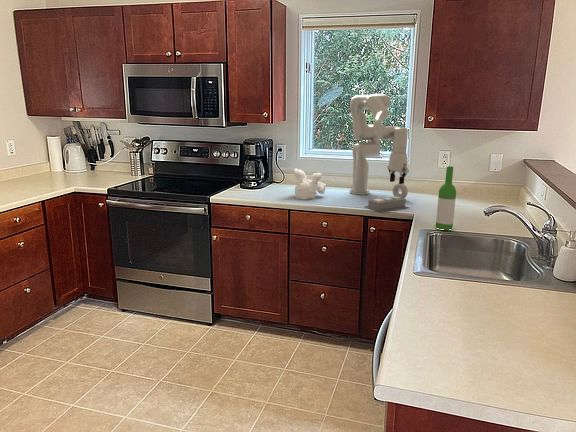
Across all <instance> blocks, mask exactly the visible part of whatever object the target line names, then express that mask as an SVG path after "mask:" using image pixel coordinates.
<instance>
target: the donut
mask: <svg viewBox="0 0 576 432" xmlns="http://www.w3.org/2000/svg"><path fill="white" fill-rule="evenodd" d="M399 189H400V190H401V193H400V192H399ZM408 193H409V191H408V188H407V186H406V185H405V183H404V184H399V182H398V183H396V184H395V185H393V187H392V194H393V196H398V197H401V198H404V199H406V198H407V196H408Z"/></svg>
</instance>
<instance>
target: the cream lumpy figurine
mask: <svg viewBox="0 0 576 432" xmlns="http://www.w3.org/2000/svg"><path fill="white" fill-rule="evenodd" d="M293 171H294V172H293V173H294V176H295V179H296V180H297V181H300V182H298V183H296V185H295V187H294V194H295V199H296V200H305V201H306V200H307V201H308V200H312V199H315V198H316V195H317V194H320V195H321V194H324V193H325V192H326V186H327V184H326V183H324V182H321V178H322V175H323V172H314V173H313V174H312V175H311V177H310V179H309V178H308V179H307V175H306V173H305V171H303V170H302V169H300V168H299V169H298V168H296V167H294V169H293ZM317 192H318V193H317Z"/></svg>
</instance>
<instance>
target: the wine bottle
mask: <svg viewBox="0 0 576 432" xmlns="http://www.w3.org/2000/svg"><path fill="white" fill-rule="evenodd" d="M445 171H446V173H445V179H444V180H445V181H444V184H442V185H441V186H440V188H439V189H438V199H437V205H436V206H437V208H436V217H435V229H436V228H439V229H444V230H449V229H453V227H454V225H453V224H454V217H455V207H456V198H457V197H456V196H457V188H456V187H455V186H454V184H453V177H454V176H453V175H454V166H452V165H451V166H450V165H449V166H446V170H445Z"/></svg>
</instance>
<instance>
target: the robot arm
mask: <svg viewBox="0 0 576 432" xmlns="http://www.w3.org/2000/svg"><path fill="white" fill-rule="evenodd" d="M391 102H392V101H391V98H390V96H389V95H388V94H384V93H383V94H382V93H381V94H380V93H373V94H370V95H369V94H358V95H355V96H353V97H351V100H350V102H349V111H350V116H351V118H352V130H353V138H354V139H355V140H356V141H362V142H356V143H355V144H354V145H353V147H352V160H353V161H352V162H353V165H352V166H353V167H352V183H351V184H350V185H349V186H348V187H349V188H351V189H350V190H349V193H350V194H352V195H369V194H370V190H369V189H368V185H369V182H368V181H369V166H370V165H369V162H368V160H367V159H368V158H377V157H379V156H380V152H381V142H380V141H381V140H382V141H392V147H391V152H390V154H389V155H390V156H389V159H388V165H387V167H386V168H387V170H388V172H389V176H390V177H389V182H390V183H393V182H394V183H395V181H396V174H395V173H396V172H397V173H399V175H400V176H399V178H398V180H399V181H398V183H399V184H404V185H405V177H406V176H407V175H408V173H410V170H409V169H408V156H407V155H408V153H407V146H408V145H407V144H408V134H409V133H408V132H409V131H408V128H406V127H400V126H397V125H394V126H393V125H390V126H388V125H386V126H384V125H383V123H382V122H383V121H384V120H386V119H387V118H388V117H389V110H388V109H389V108H390V106H391ZM363 110H369V111H370V112H371V115H372V116H373V117H374V119H373V122H372V124H368V121H367V119H368V118H367V116H366V114H365V113H364V111H363ZM363 141H368V142H363Z"/></svg>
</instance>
